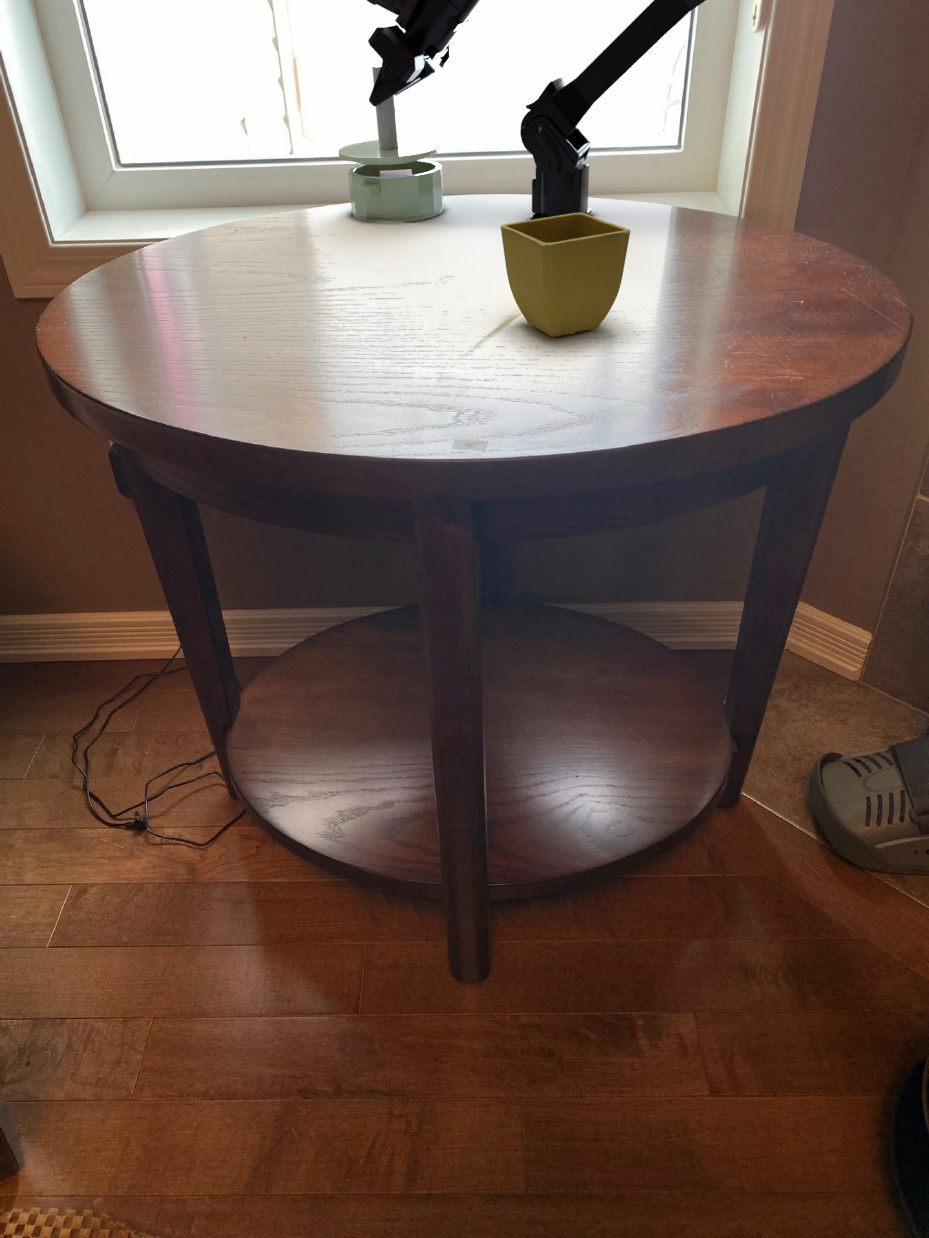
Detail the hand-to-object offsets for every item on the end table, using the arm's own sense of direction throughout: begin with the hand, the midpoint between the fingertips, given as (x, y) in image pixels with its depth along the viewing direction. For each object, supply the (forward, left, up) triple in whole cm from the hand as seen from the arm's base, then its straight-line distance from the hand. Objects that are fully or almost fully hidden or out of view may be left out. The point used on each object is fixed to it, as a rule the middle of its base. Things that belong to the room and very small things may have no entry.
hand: (375, 102), depth 118 cm
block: (-2, -1, -13) cm, 13 cm away
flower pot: (-39, +36, -14) cm, 55 cm away
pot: (-1, -1, -13) cm, 14 cm away
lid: (-1, 0, -6) cm, 6 cm away
